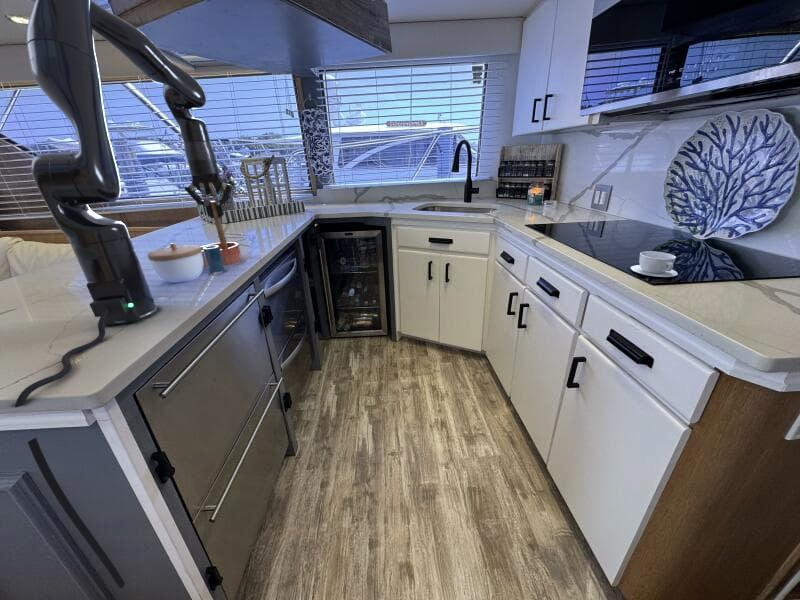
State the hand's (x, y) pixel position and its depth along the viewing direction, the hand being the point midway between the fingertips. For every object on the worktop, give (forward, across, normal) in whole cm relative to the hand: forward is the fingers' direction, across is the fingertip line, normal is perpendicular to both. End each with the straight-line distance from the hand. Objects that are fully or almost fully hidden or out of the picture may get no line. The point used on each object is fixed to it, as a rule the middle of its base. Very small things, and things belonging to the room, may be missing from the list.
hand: (216, 217), depth 103 cm
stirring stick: (+13, 0, 0) cm, 13 cm away
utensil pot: (+15, -1, -10) cm, 18 cm away
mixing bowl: (+15, -2, 0) cm, 15 cm away
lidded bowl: (+15, -8, -16) cm, 24 cm away
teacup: (+15, +116, -54) cm, 129 cm away
